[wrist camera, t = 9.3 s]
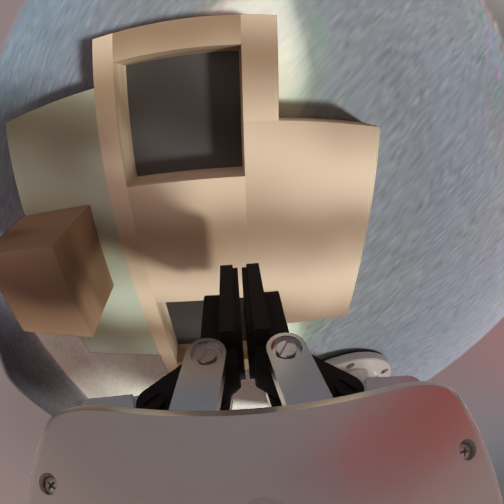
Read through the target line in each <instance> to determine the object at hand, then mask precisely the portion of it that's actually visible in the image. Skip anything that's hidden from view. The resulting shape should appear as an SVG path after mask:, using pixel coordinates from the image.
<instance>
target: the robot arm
mask: <svg viewBox="0 0 504 504" xmlns="http://www.w3.org/2000/svg"><path fill="white" fill-rule="evenodd" d="M242 285H243V302H244V318H245V330H246V341H247V352H248V363H249V374H250V379H255V383H256V386H257V387H258V388H260V389H261V390H263V391H264V392H265V394H266V398H267V402H268V405H269V407H266V408H255V409H240V410H232V404H233V394H234V393H235V392H236V391H238V390H239V389H240V388H241V379H246V377H245V364H244V351H243V338H242V325H241V311H240V296H239V282H238V268H233V265H220V287H219V295H207V296H204V302H203V314H202V326H201V339H199V340H196V341H194V342H193V343H192V344H190V345H189V347H188V348H187V350H186V353H185V357H184V360H183V363H182V364H181V365H180V366H178V367H177V368H175V369H174V370H173V371H171V372H170V373H168V374H167V375H166V376H164V377H163V378H161V379H160V380H159V381H157V382H156V383H154V384H153V385H152V386H150V387H149V388H147V389H146V390H144V391H143V392H142V393H141V394H140V395H139V396H133V395H132V394H130V395H122V396H113V397H103V398H91V399H87V400H85V401H84V402H82V403H81V405H80V406H79V407H74V408H69V409H66V410H63V411H60V412H58V413H56V414H55V415H53V416H52V417H51V418H50V419H49V421H48V422H47V424H46V426H45V427H44V430H43V432H42V434H41V437H40V440H39V443H38V446H37V449H36V453H35V457H34V460H33V464H32V469H31V475H30V481H29V488H28V495H27V503H26V504H503V501H502V497H501V493H500V489H499V485H498V481H497V478H496V474H495V471H494V468H493V465H492V462H491V459H490V456H489V454H488V451H487V449H486V446H485V443H484V441H483V439H482V436H481V434H480V432H479V429H478V427H477V425H476V423H475V421H474V419H473V417H472V415H471V413H470V412H469V410H468V408H467V407H466V405H465V403H464V402H463V400H462V399H461V398H460V396H459V395H458V394H457V393H456V392H455V391H454V390H453V389H452V388H451V387H449V386H448V385H445V384H442V383H438V382H428V381H419V380H418V379H417V378H415V377H413V376H392V377H390V374H391V366H390V364H389V362H388V360H387V358H386V357H384V356H383V355H382V354H379V353H376V352H354V353H349V354H344V355H340V356H337V357H333V358H330V359H328V360H325V361H323V360H321V359H319V358H317V357H315V356H313V355H312V354H311V352H310V350H309V348H308V346H307V344H306V343H305V341H304V340H303V339H302V338H301V337H300V336H298V335H296V334H293V333H289V330H288V326H287V322H286V318H285V314H284V310H283V306H282V302H281V298H280V294H279V292H278V291H270V292H264V289H263V284H262V279H261V273H260V268H259V263H250V264H246V267H242Z"/></svg>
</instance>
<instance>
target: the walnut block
mask: <svg viewBox="0 0 504 504" xmlns="http://www.w3.org/2000/svg"><path fill="white" fill-rule="evenodd" d="M113 287H114V284H113V281H112V278H111V275H110V272H109V269H108V266H107V263H106V260H105V257H104V254H103V251H102V248H101V244H100V241H99V237H98V234H97V230H96V227H95V223H94V219H93V216H92V212H91V208H90V205H84V206H78V207H72V208H65V209H60V210H54V211H48V212H43V213H38V214H32V215H27V216H23V217H22V218H20V219H19V220H18V221H17V222H16V223H15V224H14V225H13V226H11V227H10V228H9V229H8V230H7V231H6V232H5V233H4V234H3V235H2V236H1V237H0V291H1V293H2V294H3V296H4V298H5V300H6V302H7V304H8V305H9V307H10V309H11V311H12V312H13V314H14V316H15V317H16V319H17V321H18V322H19V324H20V325H21V327H22V328H23V330H24V331H27V332H36V333H46V334H57V335H69V336H85V337H93V336H94V333H95V331H96V328H97V325H98V323H99V320H100V318H101V315H102V313H103V310H104V308H105V305H106V303H107V301H108V298H109V296H110V293H111V291H112V289H113Z"/></svg>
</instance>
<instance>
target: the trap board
mask: <svg viewBox="0 0 504 504" xmlns="http://www.w3.org/2000/svg"><path fill="white" fill-rule="evenodd" d="M92 53H93V81H94V88H93V89H90V90H87V91H83V92H80V93H77V94H74V95H71V96H68V97H65V98H62V99H60V100H57V101H54V102H52V103H49V104H47V105H44V106H42V107H39V108H37V109H34V110H32V111H30V112H28V113H25V114H23V115H21V116H19V117H17V118H15V119H13V120H11V121H9V122H7V123H5V127H6V134H7V141H8V147H9V153H10V158H11V163H12V168H13V173H14V177H15V181H16V185H17V189H18V193H19V197H20V200H21V204H22V207H23V210H24V214H25V216H27V215H32V214H38V213H43V212H48V211H54V210H60V209H65V208H72V207H78V206H84V205H90V208H91V212H92V216H93V219H94V223H95V227H96V230H97V234H98V237H99V241H100V244H101V248H102V251H103V254H104V257H105V260H106V263H107V266H108V269H109V272H110V275H111V278H112V281H113V284H114V287H113V289H112V291H111V293H110V296H109V298H108V301H107V303H106V305H105V308H104V310H103V313H102V315H101V318H100V320H99V323H98V325H97V328H96V331H95V333H94V336H93V337H85V336H80V338H81V340H82V341H83V343H84V344H85V346H86V348H87V349H88V351H89V352H93V353H111V354H143V355H160V356H161V358H162V360H163V362H164V365H165V367H166V369H167V371H168V373H170V372H171V371H173V370H174V369H175V368H177V367H178V366H180V365H181V364H182V363H183V360H184V357H185V353H186V350H187V348H188V347H189V345H190V344H192V343H193V342H194V341H196V340H199V339H201V326H202V314H203V302H204V296H207V295H219V287H220V265H233V268H238V282H239V296H240V311H241V325H242V338H243V351H244V364H245V370H249V363H248V352H247V341H246V330H245V318H244V302H243V285H242V267H246V264H250V263H259V268H260V273H261V279H262V284H263V289H264V292H270V291H278V292H279V294H280V298H281V302H282V306H283V310H284V314H285V318H286V322H287V323H291V322H300V321H308V320H316V319H323V318H330V317H337V316H344V315H347V314H348V310H349V306H350V303H351V299H352V295H353V291H354V287H355V283H356V279H357V275H358V270H359V266H360V261H361V257H362V252H363V247H364V242H365V237H366V232H367V227H368V221H369V215H370V209H371V203H372V197H373V190H374V183H375V175H376V167H377V158H378V149H379V138H380V127H377V126H374V125H371V124H367V123H364V122H357V121H347V120H335V119H321V118H297V117H279V90H278V39H277V15H262V14H234V15H213V16H201V17H192V18H183V19H176V20H170V21H164V22H158V23H153V24H148V25H143V26H139V27H134V28H130V29H126V30H122V31H119V32H115V33H111V34H108V35H105V36H101V37H98V38H95V39H92Z"/></svg>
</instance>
